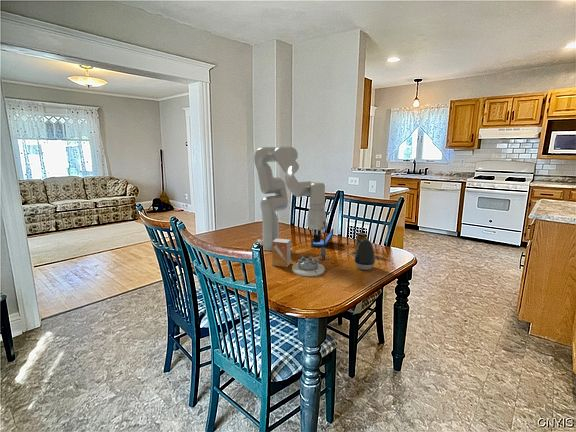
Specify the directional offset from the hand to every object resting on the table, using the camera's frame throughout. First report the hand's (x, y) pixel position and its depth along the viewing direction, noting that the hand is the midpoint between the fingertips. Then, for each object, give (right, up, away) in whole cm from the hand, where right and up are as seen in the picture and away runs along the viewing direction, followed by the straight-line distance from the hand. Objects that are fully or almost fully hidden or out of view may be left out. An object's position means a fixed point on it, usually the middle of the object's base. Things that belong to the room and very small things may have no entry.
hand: (317, 241), depth 164 cm
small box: (-18, -12, 0) cm, 22 cm away
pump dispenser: (+23, -13, -4) cm, 27 cm away
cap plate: (-5, -13, -8) cm, 16 cm away
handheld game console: (+7, -5, +37) cm, 38 cm away
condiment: (+26, -9, +18) cm, 33 cm away
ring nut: (-3, -11, -6) cm, 13 cm away
